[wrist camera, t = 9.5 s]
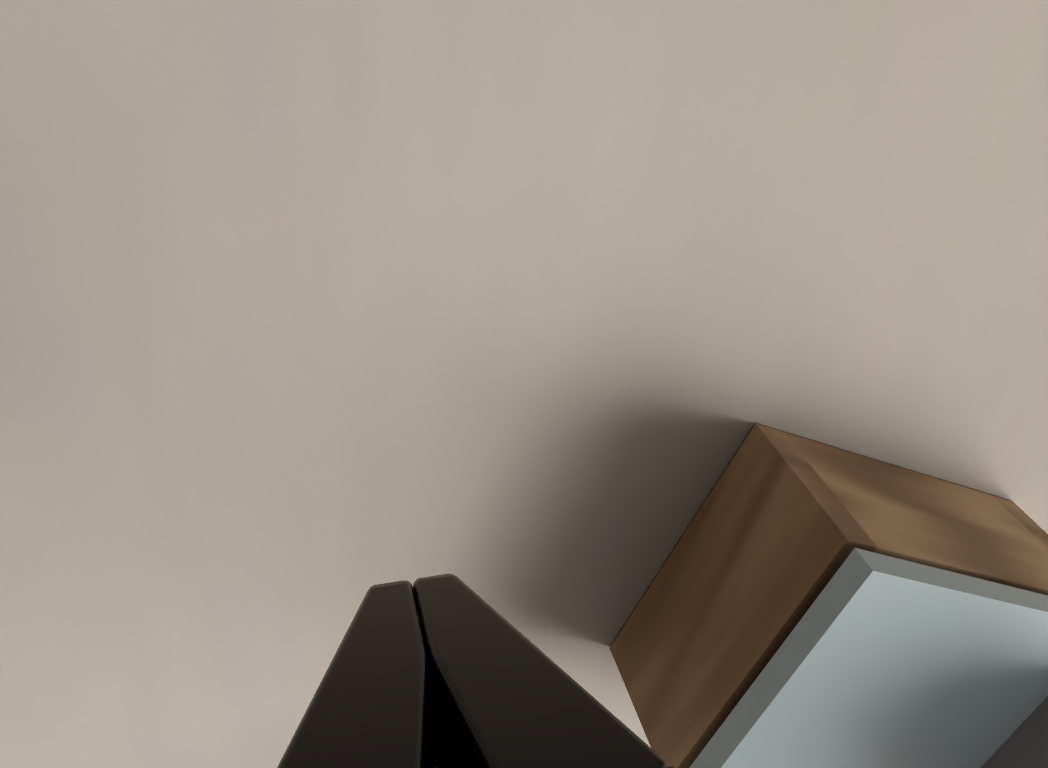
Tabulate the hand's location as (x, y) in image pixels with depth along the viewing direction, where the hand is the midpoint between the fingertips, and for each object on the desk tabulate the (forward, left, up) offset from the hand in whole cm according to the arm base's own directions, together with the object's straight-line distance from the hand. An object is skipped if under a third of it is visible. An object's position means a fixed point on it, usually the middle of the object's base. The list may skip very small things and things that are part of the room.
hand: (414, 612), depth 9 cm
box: (+13, -15, -13) cm, 24 cm away
